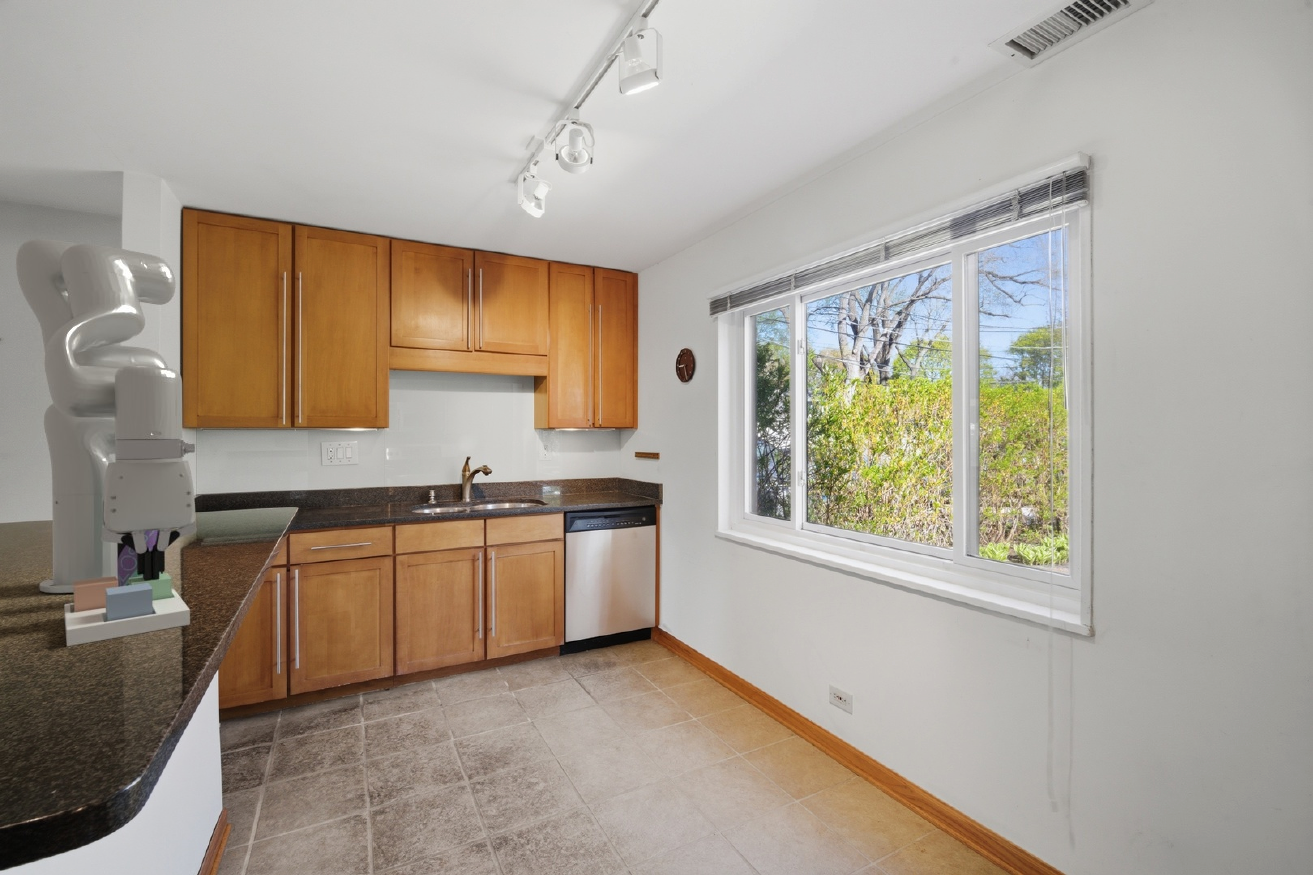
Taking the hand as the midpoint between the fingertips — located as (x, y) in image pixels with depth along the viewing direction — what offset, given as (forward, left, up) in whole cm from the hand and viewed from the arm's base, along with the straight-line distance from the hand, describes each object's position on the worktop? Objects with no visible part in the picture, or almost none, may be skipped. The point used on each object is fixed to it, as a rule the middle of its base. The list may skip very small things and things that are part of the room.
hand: (151, 578), depth 88 cm
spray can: (-11, 0, -5) cm, 12 cm away
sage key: (0, 0, -4) cm, 4 cm away
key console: (+4, -3, -5) cm, 7 cm away
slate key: (+8, -3, -3) cm, 9 cm away
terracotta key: (0, -6, -3) cm, 7 cm away
